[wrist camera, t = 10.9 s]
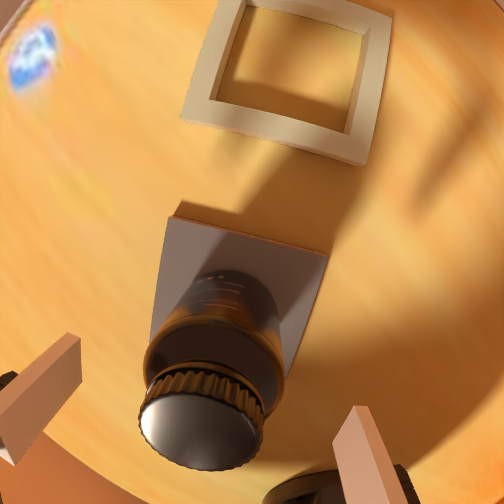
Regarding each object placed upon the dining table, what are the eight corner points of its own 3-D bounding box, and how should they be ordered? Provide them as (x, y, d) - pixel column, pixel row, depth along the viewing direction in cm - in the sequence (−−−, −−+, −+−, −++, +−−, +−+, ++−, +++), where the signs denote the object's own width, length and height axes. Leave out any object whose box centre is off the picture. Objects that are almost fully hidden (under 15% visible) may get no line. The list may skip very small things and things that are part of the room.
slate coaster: (325, 253, 21) (328, 257, 20) (281, 379, 24) (282, 386, 23) (172, 215, 21) (168, 216, 20) (151, 347, 23) (148, 353, 22)
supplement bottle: (288, 342, 22) (304, 476, 10) (200, 360, 22) (159, 486, 11) (263, 254, 20) (263, 351, 9) (169, 278, 21) (81, 377, 9)
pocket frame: (383, 28, 17) (392, 18, 15) (356, 166, 20) (365, 165, 18) (232, -11, 17) (229, -25, 15) (187, 123, 19) (179, 117, 17)
